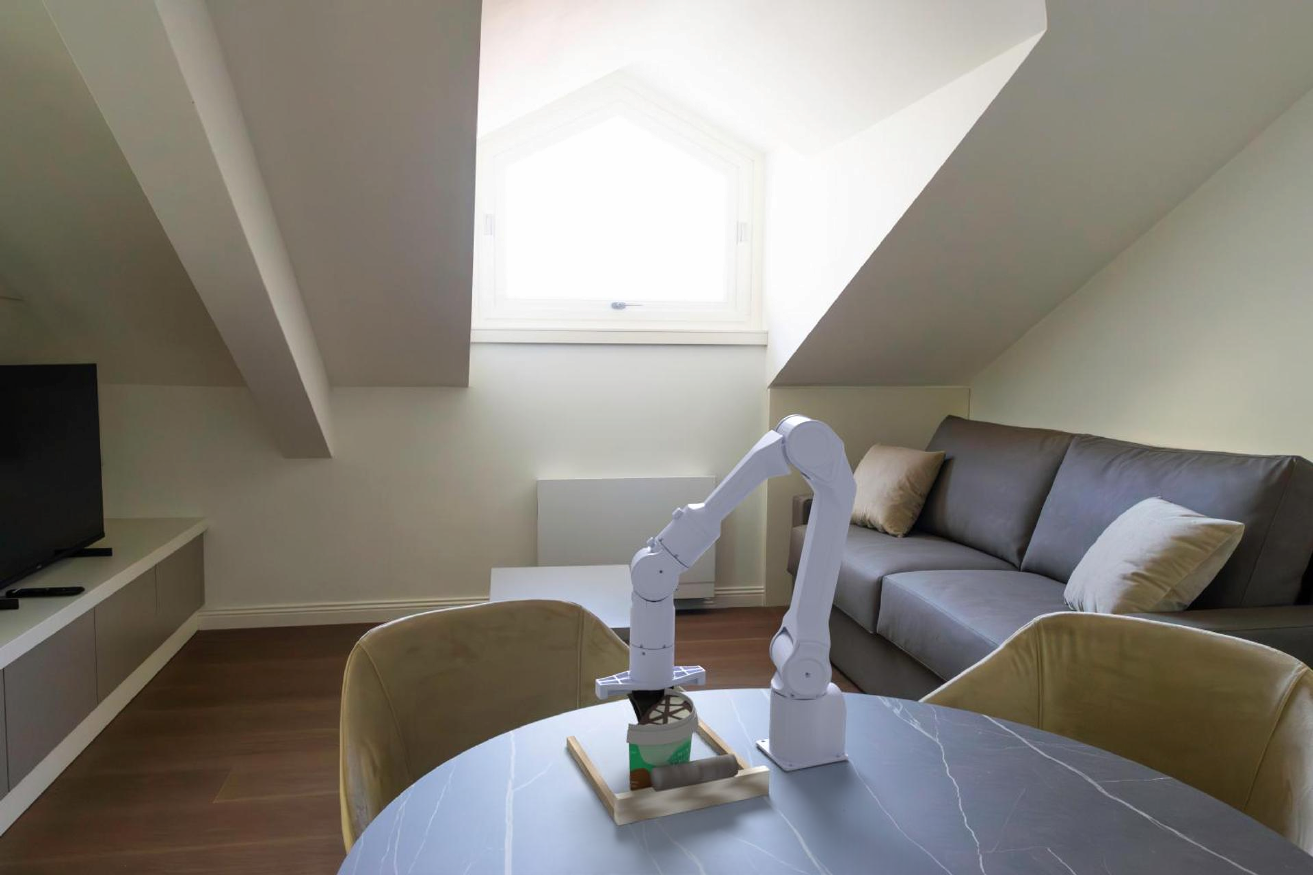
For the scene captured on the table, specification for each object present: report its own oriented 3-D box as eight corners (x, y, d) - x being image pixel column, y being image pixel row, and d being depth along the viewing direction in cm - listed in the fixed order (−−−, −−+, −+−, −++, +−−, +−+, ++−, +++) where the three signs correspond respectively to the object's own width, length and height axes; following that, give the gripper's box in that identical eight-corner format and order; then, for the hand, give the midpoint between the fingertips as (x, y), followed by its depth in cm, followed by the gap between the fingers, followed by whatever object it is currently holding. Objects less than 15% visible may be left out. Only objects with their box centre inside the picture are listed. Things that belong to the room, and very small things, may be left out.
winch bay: (697, 723, 119) (697, 686, 118) (771, 796, 100) (772, 752, 99) (566, 745, 112) (566, 706, 111) (619, 828, 93) (620, 781, 92)
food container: (675, 821, 94) (677, 735, 93) (625, 809, 96) (626, 725, 95) (710, 771, 105) (712, 694, 104) (664, 761, 108) (666, 685, 107)
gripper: (690, 626, 115) (688, 722, 116) (588, 637, 109) (587, 738, 111) (713, 643, 108) (710, 744, 109) (605, 656, 103) (604, 763, 104)
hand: (650, 743), depth 110 cm, fingers closed
